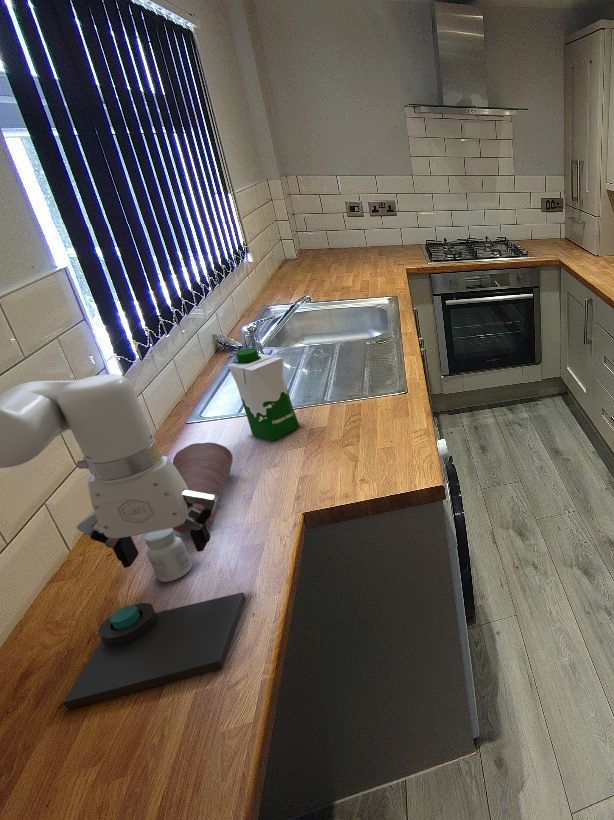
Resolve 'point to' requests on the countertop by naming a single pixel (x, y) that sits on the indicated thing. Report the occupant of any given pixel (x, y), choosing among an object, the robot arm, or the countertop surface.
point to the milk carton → (264, 394)
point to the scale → (158, 649)
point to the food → (203, 473)
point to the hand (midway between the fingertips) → (168, 553)
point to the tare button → (125, 617)
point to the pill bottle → (167, 555)
